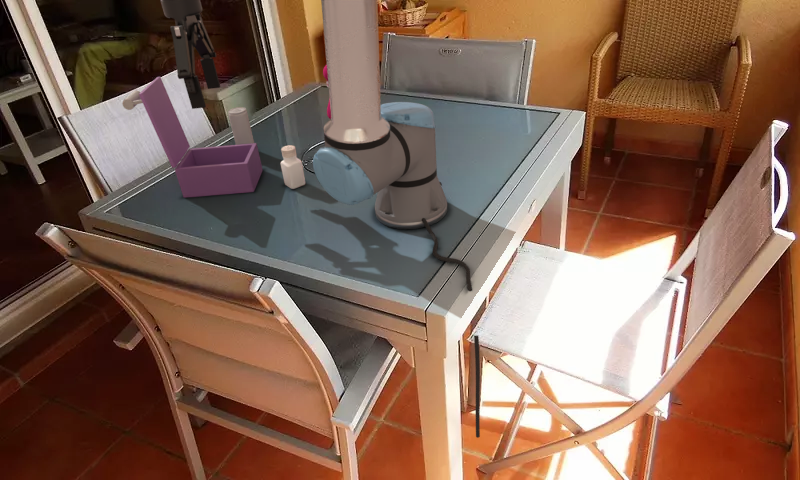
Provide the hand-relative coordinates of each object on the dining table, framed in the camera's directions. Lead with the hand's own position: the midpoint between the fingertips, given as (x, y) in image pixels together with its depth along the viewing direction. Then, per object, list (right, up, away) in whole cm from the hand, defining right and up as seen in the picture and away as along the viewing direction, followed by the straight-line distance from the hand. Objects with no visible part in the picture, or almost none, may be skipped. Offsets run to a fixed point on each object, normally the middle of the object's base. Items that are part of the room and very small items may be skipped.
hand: (207, 97), depth 127 cm
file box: (0, -18, +14) cm, 22 cm away
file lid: (-11, -4, +5) cm, 13 cm away
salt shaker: (+18, -18, +10) cm, 28 cm away
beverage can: (+1, -8, +29) cm, 30 cm away
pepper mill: (+26, +1, +40) cm, 47 cm away
